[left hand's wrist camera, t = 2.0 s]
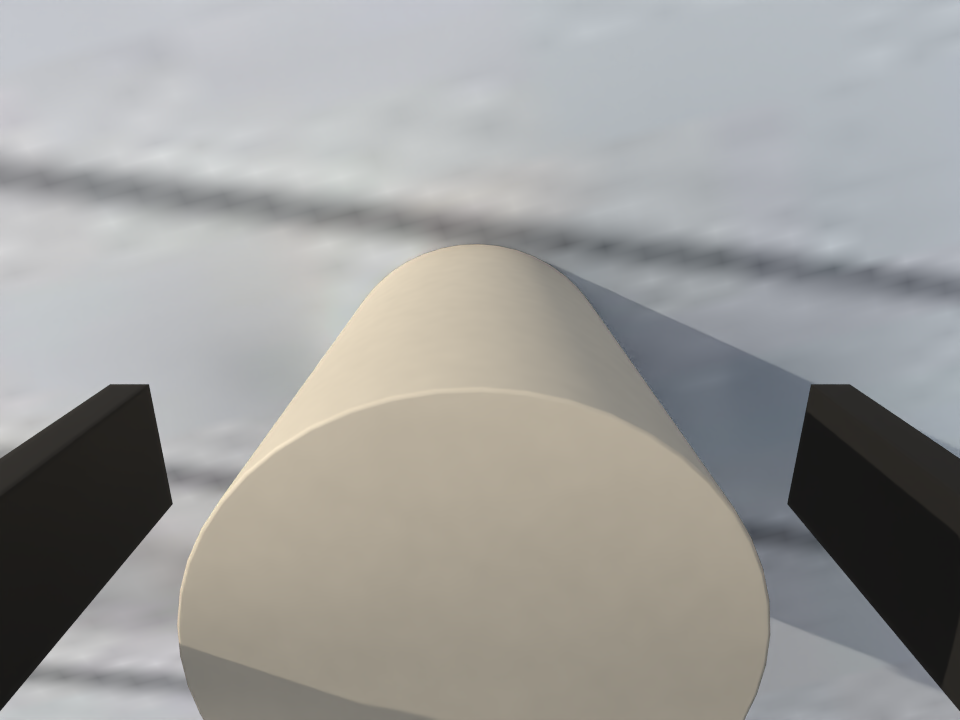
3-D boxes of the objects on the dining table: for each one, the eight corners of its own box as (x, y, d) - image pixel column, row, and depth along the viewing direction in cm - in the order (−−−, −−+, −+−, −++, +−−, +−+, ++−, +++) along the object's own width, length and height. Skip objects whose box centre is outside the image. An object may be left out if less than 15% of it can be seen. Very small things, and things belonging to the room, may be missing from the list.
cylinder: (614, 482, 18) (760, 839, 9) (366, 506, 18) (252, 879, 9) (604, 228, 15) (789, 354, 6) (318, 260, 16) (94, 424, 7)
